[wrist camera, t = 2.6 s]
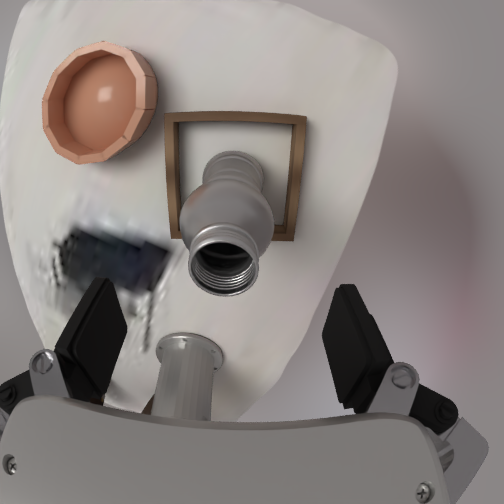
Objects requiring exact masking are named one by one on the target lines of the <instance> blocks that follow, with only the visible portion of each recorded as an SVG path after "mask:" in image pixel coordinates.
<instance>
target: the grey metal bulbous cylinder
mask: <svg viewBox="0 0 504 504" xmlns="http://www.w3.org/2000/svg"><path fill="white" fill-rule="evenodd" d="M263 183H264V176H263V172H262V169H261V167H260V165H259V164H258V162H257V161H256V160H255V159H254V158H252V157H251V156H250V155H248V154H246V153H243V152H240V151H225V152H222V153H219V154H217V155H216V156H214V157H213V158H212V159H211V160H210V161H209V162H208V163H207V165H206V167H205V169H204V172H203V184H202V185H201V186H199V187H198V188H197V189H196V190H195V191H193V192H192V194H191V195H190V196H189V197H188V199H187V200H186V201H185V203H184V205H183V207H182V209H181V213H180V231H181V235H182V239H183V241H184V244H185V246H186V247H187V249H188V250H189V251H190V256H189V261H188V268H189V273H190V276H191V278H192V280H193V281H194V282H195V284H196V285H197V286H198V287H200V288H201V289H202V290H204V291H206V292H208V293H210V294H213V295H217V296H234V295H238V294H241V293H243V292H245V291H246V290H248V289H249V288H250V287H251V286H252V285H253V284H254V283H255V281H256V279H257V276H258V271H259V264H258V262H259V258H260V257H261V256H262V255H263V254H264V252H265V251H266V249H267V248H268V246H269V244H270V242H271V239H272V236H273V233H274V217H273V214H272V211H271V208H270V206H269V204H268V202H267V200H266V199H265V197H264V196H263V195H262V193H261V191H262V188H263Z"/></svg>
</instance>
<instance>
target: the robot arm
mask: <svg viewBox="0 0 504 504" xmlns="http://www.w3.org/2000/svg"><path fill="white" fill-rule="evenodd" d="M126 334H127V324H126V321H125V319H124V316H123V313H122V310H121V307H120V304H119V301H118V298H117V295H116V291H115V288H114V285H113V283H112V282H110V280H109V279H108V278H101V277H96V278H95V279H94V280H93V281H92V283H91V285H90V286H89V288H88V289H87V291H86V293H85V294H84V296H83V297H82V299H81V301H80V302H79V304H78V306H77V307H76V309H75V311H74V312H73V314H72V316H71V318H70V319H69V321H68V323H67V325H66V327H65V328H64V330H63V332H62V334H61V336H60V338H59V339H58V341H57V343H56V345H55V349H54V351H52V350H49V349H43V350H40V351H38V352H37V353H35V354H34V355H33V357H32V358H31V360H30V363H29V370H28V371H26V372H24V373H22V374H20V375H18V376H16V377H14V378H12V379H10V380H8V381H6V382H4V383H3V384H1V386H0V504H455V503H456V502H457V501H458V499H459V498H460V497H461V495H462V494H463V492H464V491H465V490H466V488H467V486H468V485H469V484H470V482H471V481H472V479H473V478H474V476H475V475H476V473H477V471H478V470H479V468H480V466H481V465H482V463H483V461H484V460H485V458H486V456H487V454H488V448H489V447H488V443H487V441H486V440H485V438H484V437H482V436H481V435H480V433H478V432H477V431H476V430H475V429H474V428H473V427H472V426H471V425H470V424H469V423H468V422H467V421H466V420H465V419H464V418H463V417H462V418H461V419H460V418H459V417H458V409H457V407H456V405H455V404H454V403H453V401H451V400H450V399H448V398H446V397H444V396H442V395H440V394H438V393H436V392H435V391H433V390H430V389H429V388H427V387H425V386H423V385H421V384H419V375H418V373H417V371H416V370H415V369H414V368H413V366H411V365H409V364H407V363H404V362H396V363H394V361H393V359H392V357H391V354H390V352H389V350H388V348H387V346H386V343H385V341H384V339H383V337H382V335H381V332H380V330H379V328H378V326H377V324H376V322H375V320H374V318H373V316H372V315H371V314H369V312H368V310H367V308H366V306H365V304H364V302H363V300H362V298H361V296H360V294H359V292H358V290H357V288H356V286H355V285H354V284H341V285H340V287H339V288H336V290H335V292H334V296H333V300H332V303H331V306H330V309H329V313H328V316H327V319H326V322H325V325H324V328H323V332H322V339H323V343H324V347H325V350H326V354H327V358H328V362H329V365H330V369H331V373H332V377H333V381H334V385H335V389H336V393H337V397H338V400H339V402H340V403H343V406H344V409H349V408H353V409H354V412H355V413H356V414H354V415H345V416H338V417H329V418H320V419H310V420H298V421H283V422H240V423H239V422H212V421H210V420H211V402H212V386H213V373H215V372H216V371H218V370H219V369H220V368H221V366H222V362H223V355H222V352H221V350H220V349H219V347H218V346H217V345H216V344H215V343H213V342H212V341H210V340H208V339H206V338H204V337H202V336H199V335H195V334H190V333H175V334H170V335H167V336H165V337H163V338H162V339H161V340H160V341H159V342H158V344H157V347H156V356H157V358H158V360H159V362H160V363H161V367H160V372H159V376H158V381H157V385H156V390H155V395H154V400H153V405H152V410H151V415H146V414H140V413H135V412H129V411H124V410H119V409H114V408H110V407H105V406H101V405H96V404H92V403H90V399H91V397H92V398H96V399H100V400H101V399H102V396H103V394H105V393H106V392H107V389H108V386H109V383H110V380H111V377H112V374H113V371H114V368H115V365H116V362H117V359H118V356H119V353H120V350H121V348H122V345H123V342H124V339H125V337H126Z"/></svg>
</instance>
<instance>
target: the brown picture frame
mask: <svg viewBox="0 0 504 504" xmlns="http://www.w3.org/2000/svg"><path fill="white" fill-rule="evenodd" d="M182 121H255V122H273V123H286V124H293V126H292V139H291V151H290V163H289V174H288V185H287V195H286V205H285V215H284V225H274V233H273V236H272V239H271V241H294V233H295V225H296V217H297V209H298V201H299V192H300V183H301V174H302V164H303V154H304V144H305V133H306V121H307V117H306V116H300V115H291V114H279V113H265V112H242V111H198V112H176V113H165V114H164V128H165V163H166V183H167V198H168V211H169V223H170V233H171V239H182V235H181V231H180V213H181V196H180V173H179V122H182Z"/></svg>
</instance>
